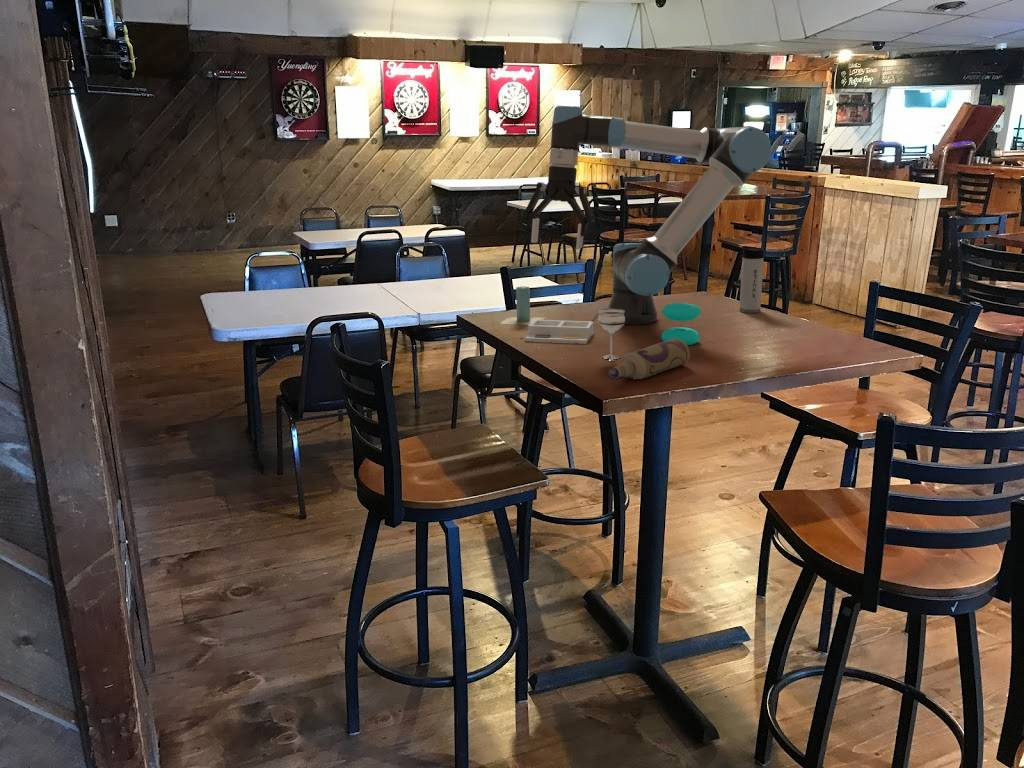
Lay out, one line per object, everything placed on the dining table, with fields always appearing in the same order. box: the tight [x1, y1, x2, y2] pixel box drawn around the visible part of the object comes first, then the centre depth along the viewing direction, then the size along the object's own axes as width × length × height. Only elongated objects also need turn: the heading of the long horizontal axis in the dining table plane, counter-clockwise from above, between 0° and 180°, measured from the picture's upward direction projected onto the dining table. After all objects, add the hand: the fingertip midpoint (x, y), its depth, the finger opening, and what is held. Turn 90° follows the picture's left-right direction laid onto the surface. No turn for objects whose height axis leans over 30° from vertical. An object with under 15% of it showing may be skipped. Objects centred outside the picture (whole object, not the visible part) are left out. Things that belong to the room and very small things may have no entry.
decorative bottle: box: [607, 339, 691, 380], centre depth 193 cm, size 26×8×7 cm, turn 133°
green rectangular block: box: [515, 285, 531, 322], centre depth 246 cm, size 4×4×10 cm
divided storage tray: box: [524, 319, 594, 345], centre depth 230 cm, size 17×12×4 cm
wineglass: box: [597, 308, 625, 361], centre depth 207 cm, size 7×7×12 cm
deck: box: [499, 316, 547, 326], centre depth 248 cm, size 12×10×1 cm
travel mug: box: [739, 245, 765, 314], centre depth 256 cm, size 6×7×20 cm
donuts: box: [661, 302, 702, 347], centre depth 221 cm, size 10×10×10 cm
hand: (556, 245), depth 229 cm, fingers open, 13 cm apart
